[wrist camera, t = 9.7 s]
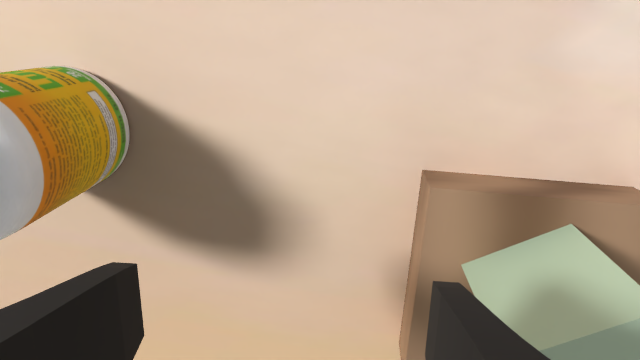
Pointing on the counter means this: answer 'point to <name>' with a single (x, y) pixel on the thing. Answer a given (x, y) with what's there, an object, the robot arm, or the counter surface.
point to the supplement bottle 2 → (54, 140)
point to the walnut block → (505, 231)
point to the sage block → (561, 296)
